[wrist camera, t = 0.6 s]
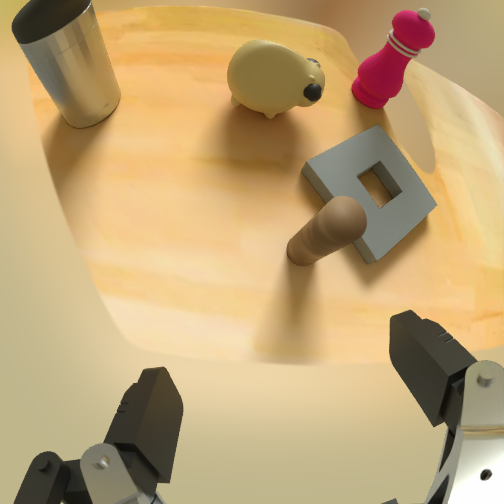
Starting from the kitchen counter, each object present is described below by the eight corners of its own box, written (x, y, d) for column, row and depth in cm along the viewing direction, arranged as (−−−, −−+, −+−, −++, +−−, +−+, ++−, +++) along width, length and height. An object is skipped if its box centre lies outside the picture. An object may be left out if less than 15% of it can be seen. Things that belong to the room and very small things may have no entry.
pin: (280, 245, 33) (315, 209, 21) (305, 229, 33) (348, 188, 22) (298, 272, 32) (343, 250, 20) (322, 254, 33) (375, 225, 21)
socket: (301, 170, 35) (306, 161, 32) (370, 132, 38) (378, 123, 35) (367, 264, 33) (377, 260, 31) (426, 210, 36) (437, 204, 34)
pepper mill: (346, 74, 40) (396, -13, 20) (383, 87, 41) (440, 10, 21) (350, 103, 38) (410, 9, 19) (389, 117, 39) (458, 36, 20)
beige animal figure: (307, 140, 36) (335, 88, 25) (217, 119, 35) (220, 61, 25) (312, 90, 38) (335, 40, 28) (234, 72, 37) (240, 17, 27)
